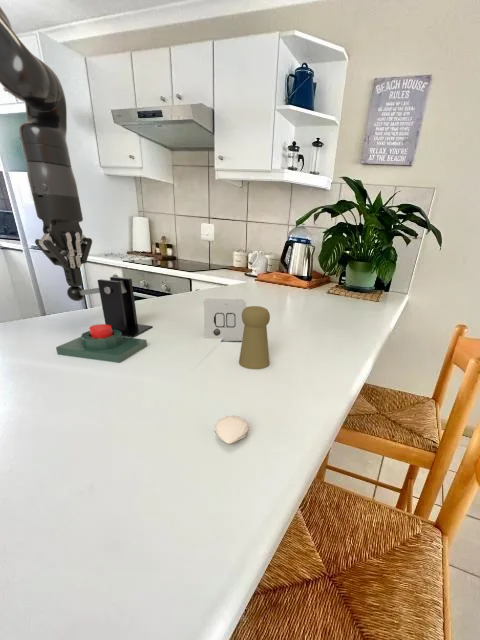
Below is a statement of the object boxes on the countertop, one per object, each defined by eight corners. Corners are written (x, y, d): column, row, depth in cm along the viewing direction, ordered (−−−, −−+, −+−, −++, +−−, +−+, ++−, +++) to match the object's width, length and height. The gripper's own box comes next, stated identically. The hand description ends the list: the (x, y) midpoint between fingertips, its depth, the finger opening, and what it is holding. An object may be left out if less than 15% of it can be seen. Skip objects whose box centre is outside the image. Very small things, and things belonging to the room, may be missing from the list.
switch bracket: (90, 335, 70) (79, 279, 64) (113, 325, 77) (105, 274, 71) (134, 341, 69) (126, 284, 63) (153, 330, 76) (147, 278, 70)
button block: (58, 358, 58) (53, 337, 56) (92, 342, 66) (88, 323, 64) (120, 367, 57) (117, 345, 55) (147, 350, 65) (145, 330, 63)
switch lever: (67, 303, 70) (61, 288, 68) (78, 300, 72) (72, 285, 71) (120, 296, 67) (114, 280, 66) (129, 293, 70) (124, 278, 69)
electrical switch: (204, 342, 72) (203, 299, 68) (205, 336, 76) (203, 296, 73) (246, 342, 74) (247, 301, 70) (244, 337, 79) (245, 298, 75)
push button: (86, 337, 59) (84, 328, 58) (99, 332, 62) (97, 323, 61) (105, 340, 58) (103, 330, 57) (117, 334, 61) (115, 325, 61)
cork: (248, 371, 60) (249, 312, 55) (233, 359, 64) (233, 304, 59) (275, 365, 63) (279, 309, 58) (259, 355, 67) (261, 302, 62)
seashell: (249, 428, 43) (249, 412, 42) (246, 452, 39) (246, 435, 38) (217, 427, 43) (216, 411, 42) (210, 451, 39) (209, 433, 37)
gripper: (63, 194, 68) (81, 279, 76) (6, 188, 56) (33, 289, 64) (96, 197, 67) (111, 283, 75) (45, 191, 55) (68, 293, 63)
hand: (75, 285), depth 69 cm, fingers closed
